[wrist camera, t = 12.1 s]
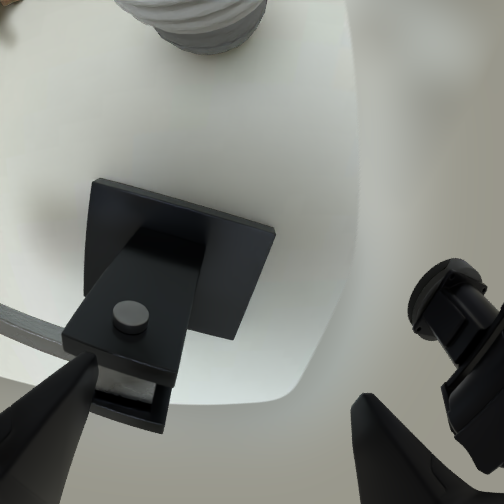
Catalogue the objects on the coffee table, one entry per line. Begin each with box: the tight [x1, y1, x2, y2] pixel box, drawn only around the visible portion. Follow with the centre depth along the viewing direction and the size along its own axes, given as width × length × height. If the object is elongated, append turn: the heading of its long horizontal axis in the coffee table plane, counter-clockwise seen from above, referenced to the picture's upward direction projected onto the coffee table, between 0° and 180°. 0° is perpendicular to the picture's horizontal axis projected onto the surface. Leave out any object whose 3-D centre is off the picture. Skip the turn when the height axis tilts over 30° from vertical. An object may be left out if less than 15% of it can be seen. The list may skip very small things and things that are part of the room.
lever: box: [0, 303, 156, 404], centre depth 10 cm, size 13×4×4 cm, turn 71°
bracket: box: [61, 178, 276, 434], centre depth 15 cm, size 12×9×11 cm
